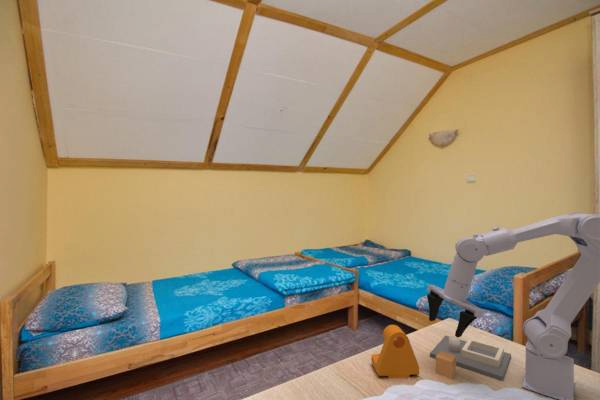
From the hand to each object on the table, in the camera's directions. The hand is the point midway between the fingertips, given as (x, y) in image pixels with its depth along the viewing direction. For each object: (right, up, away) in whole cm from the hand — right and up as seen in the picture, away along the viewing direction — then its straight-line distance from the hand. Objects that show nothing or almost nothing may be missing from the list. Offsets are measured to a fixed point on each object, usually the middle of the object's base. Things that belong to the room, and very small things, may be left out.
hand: (444, 328), depth 83 cm
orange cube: (0, -11, -1) cm, 11 cm away
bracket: (-14, -12, 0) cm, 18 cm away
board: (+11, -11, +6) cm, 17 cm away
